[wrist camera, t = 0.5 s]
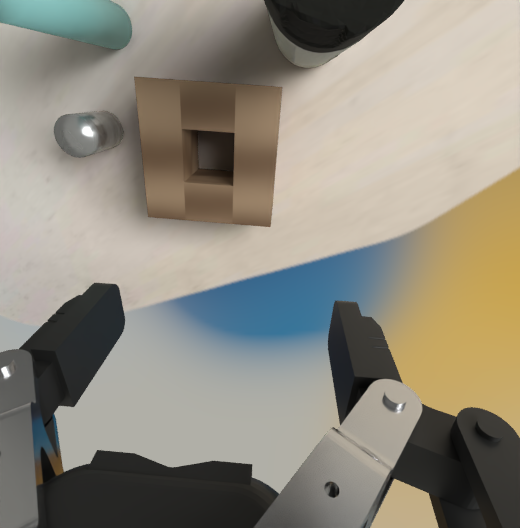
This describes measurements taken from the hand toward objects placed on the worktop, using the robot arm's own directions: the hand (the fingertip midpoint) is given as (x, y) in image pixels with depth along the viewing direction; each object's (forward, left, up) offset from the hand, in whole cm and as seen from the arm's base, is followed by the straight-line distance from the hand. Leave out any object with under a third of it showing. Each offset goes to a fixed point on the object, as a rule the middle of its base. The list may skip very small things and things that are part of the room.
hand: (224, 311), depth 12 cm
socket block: (-2, -5, -26) cm, 27 cm away
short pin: (-3, -17, -26) cm, 31 cm away
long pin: (-12, -15, -26) cm, 32 cm away
